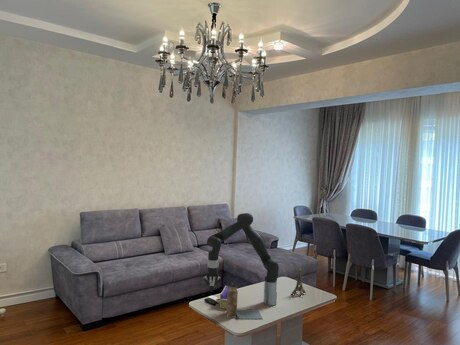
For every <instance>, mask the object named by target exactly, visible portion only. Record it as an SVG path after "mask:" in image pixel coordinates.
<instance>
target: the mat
mask: <svg viewBox="0 0 460 345" xmlns="http://www.w3.org/2000/svg"><path fill="white" fill-rule="evenodd" d="M236 319H237V320H263V317H262V314H261V312H260V310H259V309H237V315H236Z"/></svg>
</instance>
